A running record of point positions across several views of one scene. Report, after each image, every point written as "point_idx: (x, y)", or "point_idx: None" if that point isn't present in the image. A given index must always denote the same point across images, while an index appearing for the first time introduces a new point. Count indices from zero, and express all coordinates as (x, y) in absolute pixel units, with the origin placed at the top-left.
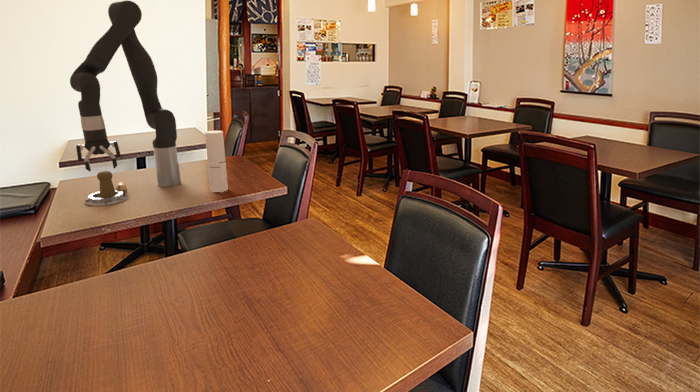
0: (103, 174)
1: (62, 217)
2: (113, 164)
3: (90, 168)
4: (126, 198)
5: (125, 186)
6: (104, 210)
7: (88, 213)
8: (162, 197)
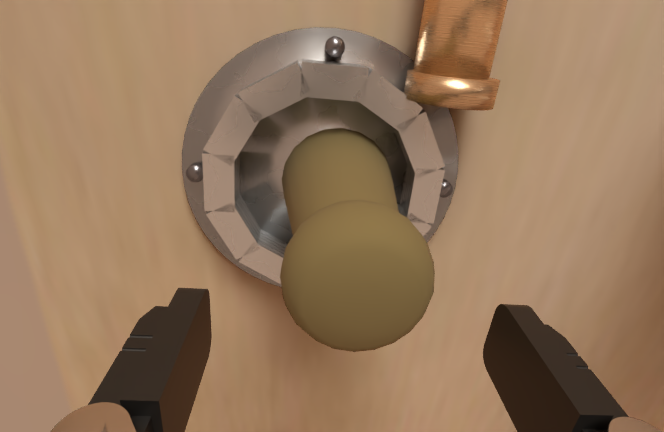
0: (346, 349)
1: (106, 368)
2: (510, 404)
3: (202, 309)
4: (437, 225)
5: (495, 96)
6: (299, 353)
7: (225, 364)
8: (612, 277)
